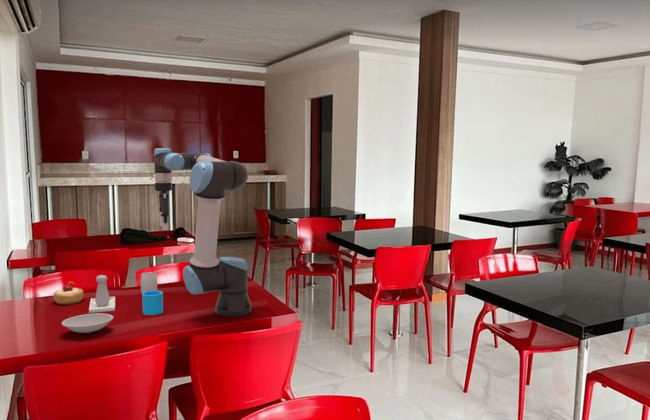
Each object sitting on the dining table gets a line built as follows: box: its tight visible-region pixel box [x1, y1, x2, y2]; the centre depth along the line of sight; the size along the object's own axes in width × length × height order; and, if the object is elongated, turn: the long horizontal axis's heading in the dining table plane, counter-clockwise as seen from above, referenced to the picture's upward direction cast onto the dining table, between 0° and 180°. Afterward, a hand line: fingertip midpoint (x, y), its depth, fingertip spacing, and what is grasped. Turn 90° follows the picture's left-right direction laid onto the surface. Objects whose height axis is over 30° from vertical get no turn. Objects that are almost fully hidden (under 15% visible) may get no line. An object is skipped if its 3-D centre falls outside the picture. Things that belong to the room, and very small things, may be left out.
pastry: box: [53, 281, 84, 306], centre depth 232 cm, size 12×12×9 cm
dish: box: [61, 312, 114, 334], centre depth 195 cm, size 18×14×5 cm
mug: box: [141, 290, 164, 316], centre depth 222 cm, size 12×8×8 cm
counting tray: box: [88, 296, 116, 314], centre depth 227 cm, size 17×10×2 cm, turn 21°
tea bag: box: [140, 271, 158, 295], centre depth 248 cm, size 4×7×10 cm, turn 121°
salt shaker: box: [94, 274, 111, 307], centre depth 227 cm, size 6×6×13 cm
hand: (164, 228), depth 243 cm, fingers open, 13 cm apart
